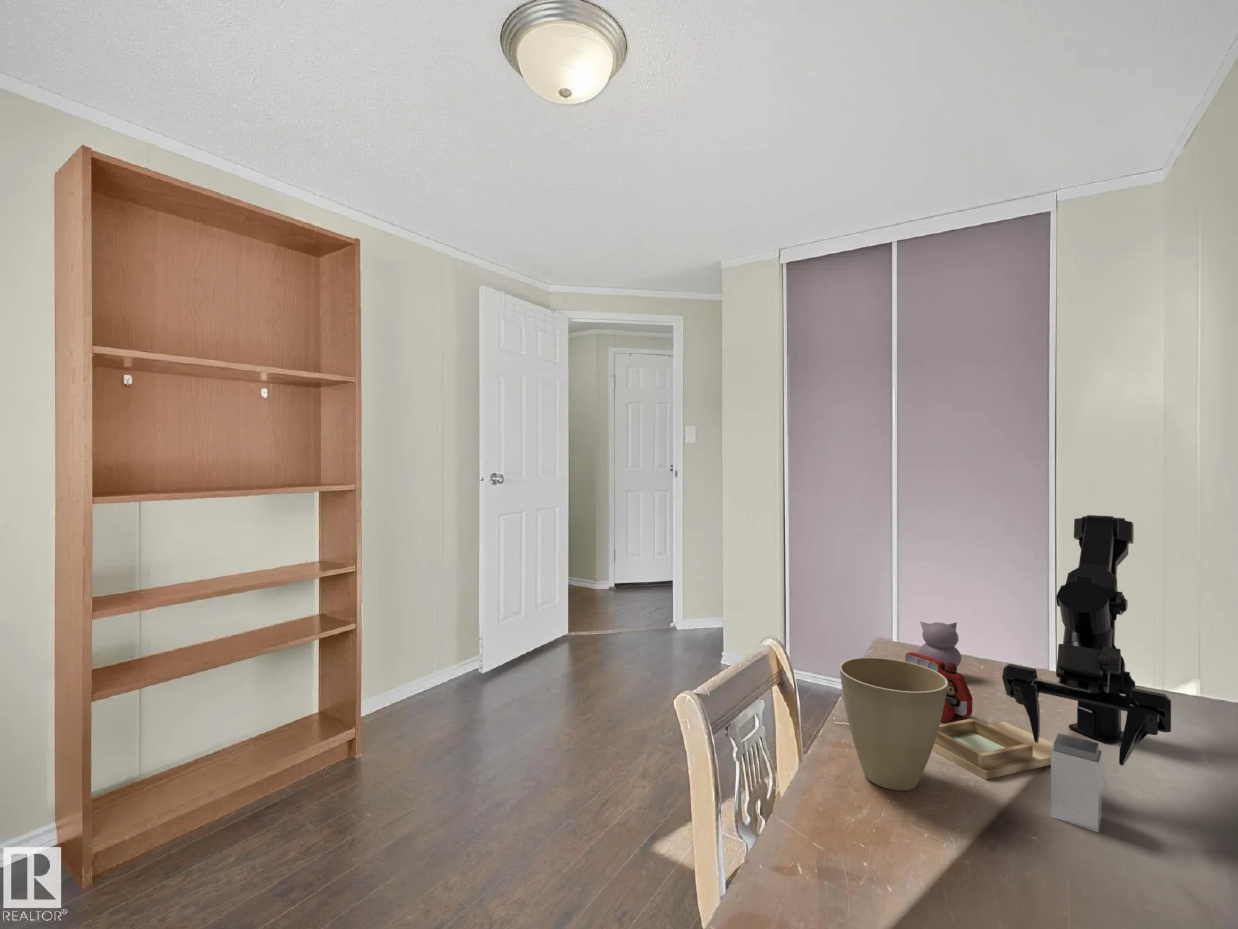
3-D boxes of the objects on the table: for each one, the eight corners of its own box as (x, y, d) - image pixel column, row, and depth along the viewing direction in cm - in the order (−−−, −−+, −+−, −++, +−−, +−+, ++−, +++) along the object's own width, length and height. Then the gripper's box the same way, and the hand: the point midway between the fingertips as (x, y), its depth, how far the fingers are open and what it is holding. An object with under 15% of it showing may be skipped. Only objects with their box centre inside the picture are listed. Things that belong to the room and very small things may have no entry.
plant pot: (908, 818, 80) (909, 699, 80) (818, 770, 93) (818, 667, 93) (968, 786, 88) (968, 678, 88) (877, 745, 101) (878, 651, 101)
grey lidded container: (1055, 803, 84) (1055, 732, 84) (1101, 817, 80) (1101, 743, 80) (1050, 817, 81) (1051, 743, 81) (1098, 832, 77) (1098, 755, 77)
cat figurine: (925, 681, 131) (925, 626, 131) (913, 669, 138) (913, 617, 138) (967, 684, 129) (967, 628, 129) (953, 671, 137) (953, 619, 137)
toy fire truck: (959, 730, 107) (959, 672, 107) (895, 706, 117) (895, 653, 117) (980, 721, 111) (980, 665, 111) (916, 698, 121) (916, 647, 121)
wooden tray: (1003, 728, 107) (1003, 710, 107) (1073, 759, 96) (1073, 739, 96) (921, 744, 101) (921, 725, 101) (985, 779, 90) (985, 758, 90)
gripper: (1005, 610, 91) (988, 703, 83) (1171, 634, 79) (1170, 746, 71) (1014, 650, 97) (999, 741, 89) (1171, 679, 84) (1170, 787, 76)
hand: (1076, 752), depth 81 cm, fingers open, 9 cm apart
